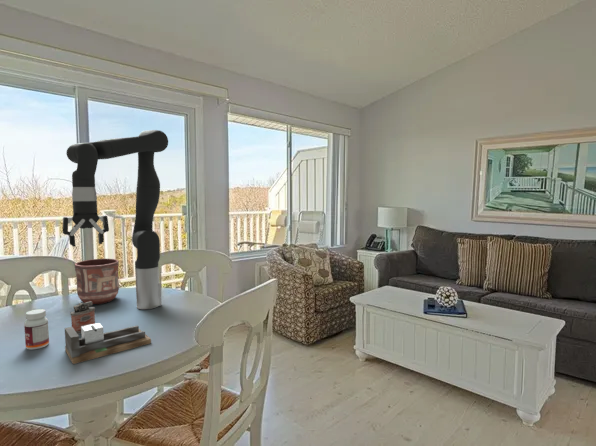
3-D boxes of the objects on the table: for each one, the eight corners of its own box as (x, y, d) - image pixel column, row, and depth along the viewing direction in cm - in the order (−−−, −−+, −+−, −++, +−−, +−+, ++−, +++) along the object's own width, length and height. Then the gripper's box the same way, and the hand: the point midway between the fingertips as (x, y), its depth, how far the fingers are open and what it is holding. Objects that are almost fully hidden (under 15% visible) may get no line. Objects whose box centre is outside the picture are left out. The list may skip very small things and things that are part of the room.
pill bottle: (23, 346, 117) (21, 312, 116) (45, 340, 122) (43, 307, 121) (29, 352, 113) (26, 316, 112) (52, 345, 118) (49, 311, 117)
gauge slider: (100, 341, 117) (98, 321, 116) (106, 348, 111) (105, 327, 111) (82, 345, 114) (81, 324, 113) (87, 353, 108) (86, 331, 108)
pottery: (66, 306, 158) (64, 265, 157) (94, 294, 176) (92, 257, 174) (103, 308, 156) (102, 266, 154) (128, 296, 173) (127, 259, 172)
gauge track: (138, 332, 128) (137, 311, 128) (151, 343, 119) (150, 320, 119) (65, 350, 114) (63, 327, 113) (73, 364, 105) (71, 338, 104)
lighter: (74, 335, 126) (73, 307, 125) (69, 333, 128) (67, 305, 127) (97, 328, 133) (96, 301, 132) (92, 326, 135) (91, 299, 134)
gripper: (103, 199, 138) (106, 242, 139) (59, 200, 129) (62, 245, 130) (109, 199, 132) (111, 244, 134) (63, 200, 123) (66, 248, 124)
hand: (87, 245), depth 132 cm, fingers open, 8 cm apart
